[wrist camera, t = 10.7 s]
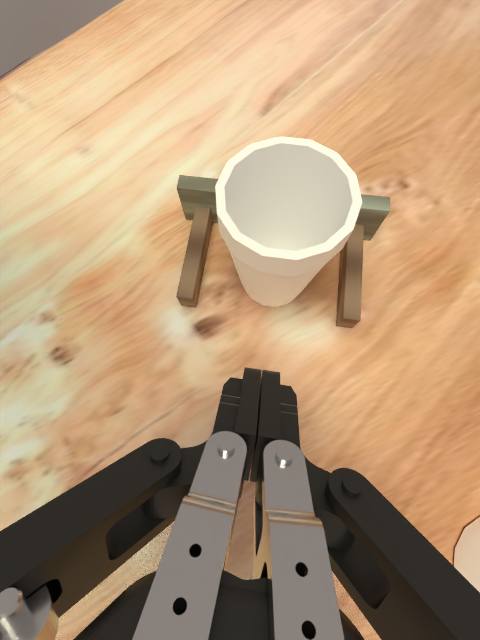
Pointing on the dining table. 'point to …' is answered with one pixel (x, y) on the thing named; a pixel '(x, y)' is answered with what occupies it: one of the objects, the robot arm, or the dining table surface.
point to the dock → (203, 212)
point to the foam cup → (285, 214)
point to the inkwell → (469, 553)
